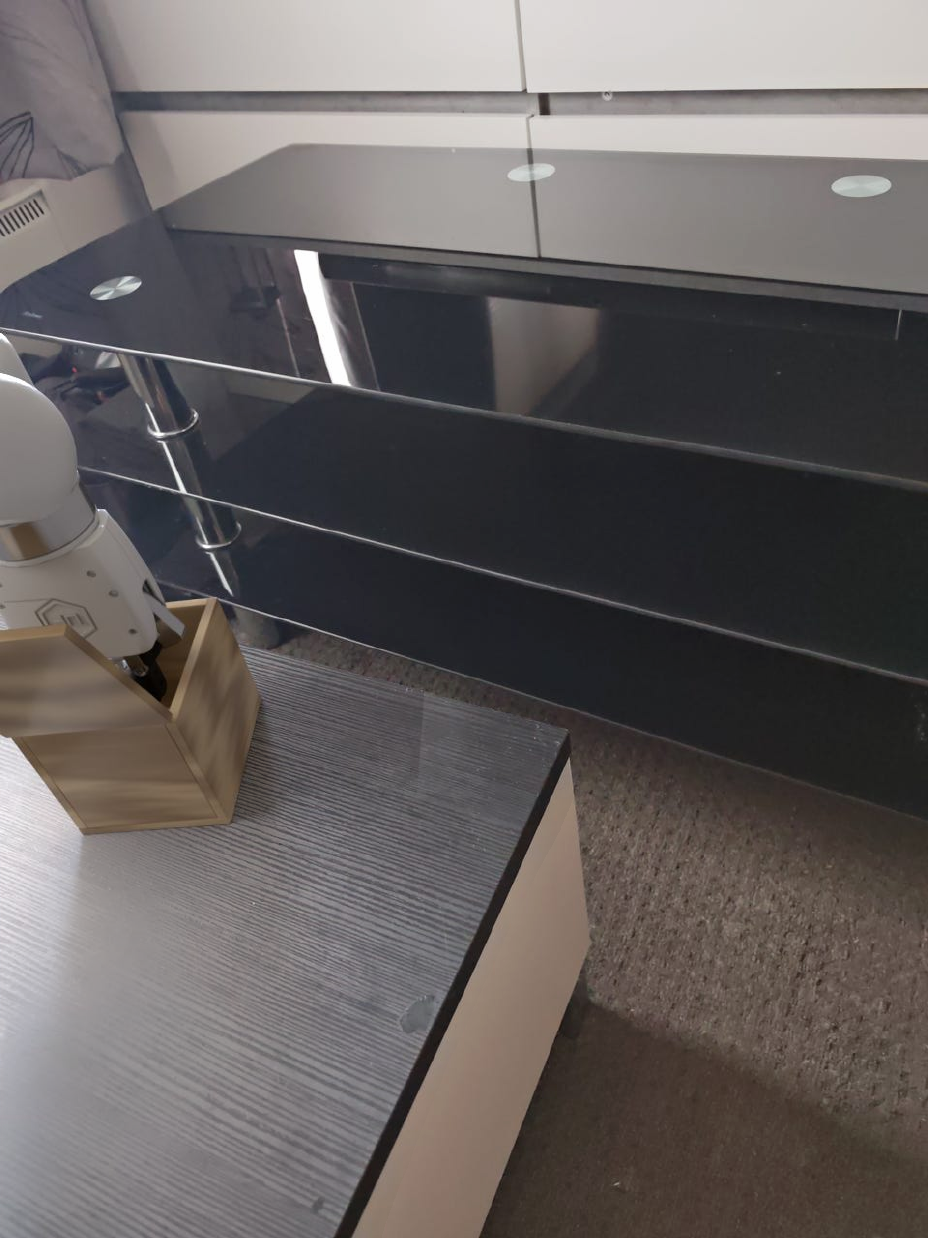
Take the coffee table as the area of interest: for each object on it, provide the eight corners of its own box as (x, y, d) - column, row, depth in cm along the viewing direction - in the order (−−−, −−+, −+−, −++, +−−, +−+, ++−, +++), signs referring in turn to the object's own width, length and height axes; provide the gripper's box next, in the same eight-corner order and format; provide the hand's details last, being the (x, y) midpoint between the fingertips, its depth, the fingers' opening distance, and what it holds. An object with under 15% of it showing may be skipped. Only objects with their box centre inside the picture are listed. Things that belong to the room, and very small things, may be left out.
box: (131, 710, 85) (73, 612, 77) (262, 698, 83) (217, 596, 75) (82, 834, 75) (10, 737, 66) (230, 824, 73) (175, 722, 65)
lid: (-134, 643, 54) (-138, 655, 54) (66, 622, 52) (64, 635, 52) (8, 728, 66) (5, 738, 66) (173, 713, 65) (172, 723, 64)
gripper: (-101, 563, 60) (31, 745, 72) (131, 537, 58) (226, 728, 70) (-51, 497, 65) (64, 676, 77) (163, 471, 63) (245, 659, 75)
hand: (140, 700), depth 73 cm, fingers closed
